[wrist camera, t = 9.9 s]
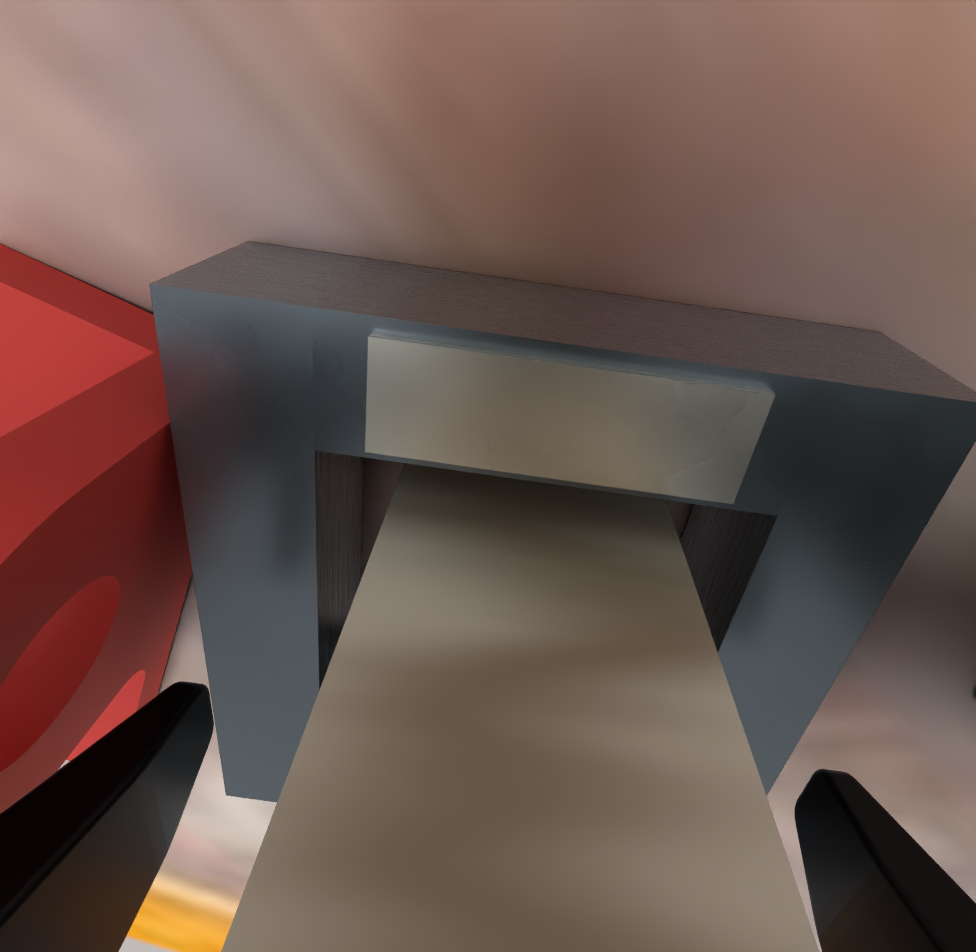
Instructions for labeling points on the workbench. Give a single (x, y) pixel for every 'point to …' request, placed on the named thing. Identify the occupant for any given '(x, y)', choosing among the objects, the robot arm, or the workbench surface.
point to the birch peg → (522, 747)
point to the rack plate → (534, 461)
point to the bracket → (80, 519)
